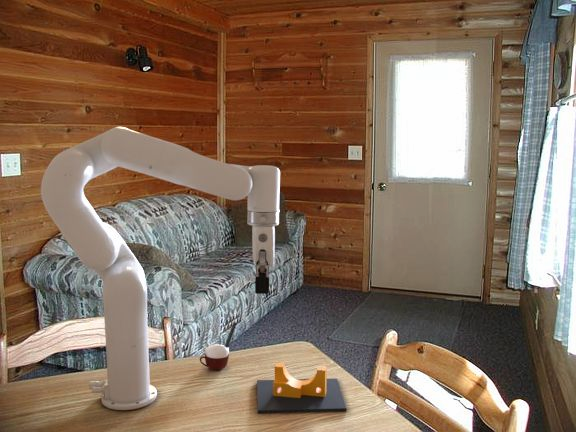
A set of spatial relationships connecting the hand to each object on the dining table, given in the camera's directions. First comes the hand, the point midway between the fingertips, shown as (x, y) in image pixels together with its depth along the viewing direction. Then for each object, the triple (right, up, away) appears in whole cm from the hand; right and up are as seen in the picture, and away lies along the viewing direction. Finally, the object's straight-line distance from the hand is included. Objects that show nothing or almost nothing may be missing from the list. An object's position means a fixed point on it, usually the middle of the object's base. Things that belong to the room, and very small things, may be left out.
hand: (262, 287), depth 150 cm
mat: (+9, -26, -3) cm, 27 cm away
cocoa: (-12, -23, +14) cm, 29 cm away
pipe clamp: (+9, -25, -3) cm, 27 cm away
